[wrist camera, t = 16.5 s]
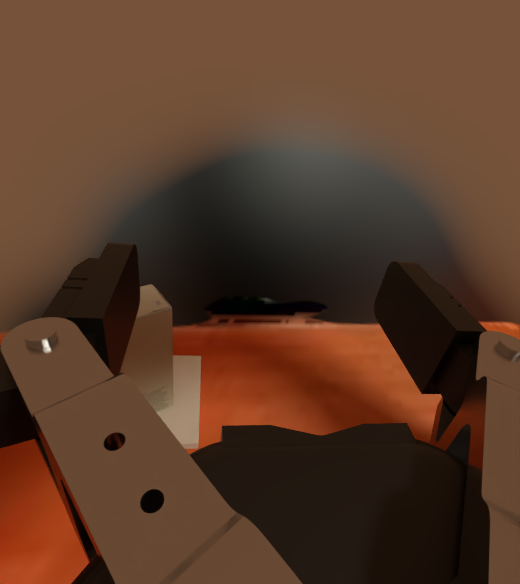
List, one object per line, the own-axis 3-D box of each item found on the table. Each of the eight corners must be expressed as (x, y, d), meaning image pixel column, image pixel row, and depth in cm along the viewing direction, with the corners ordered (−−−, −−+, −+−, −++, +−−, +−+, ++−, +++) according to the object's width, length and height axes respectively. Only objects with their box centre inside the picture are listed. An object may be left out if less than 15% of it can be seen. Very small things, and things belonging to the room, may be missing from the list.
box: (157, 379, 40) (155, 281, 33) (174, 407, 37) (176, 306, 30) (108, 397, 37) (94, 294, 30) (123, 429, 34) (111, 323, 27)
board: (200, 360, 44) (201, 355, 44) (198, 448, 34) (198, 443, 34) (98, 358, 42) (98, 353, 42) (63, 451, 32) (62, 446, 32)
